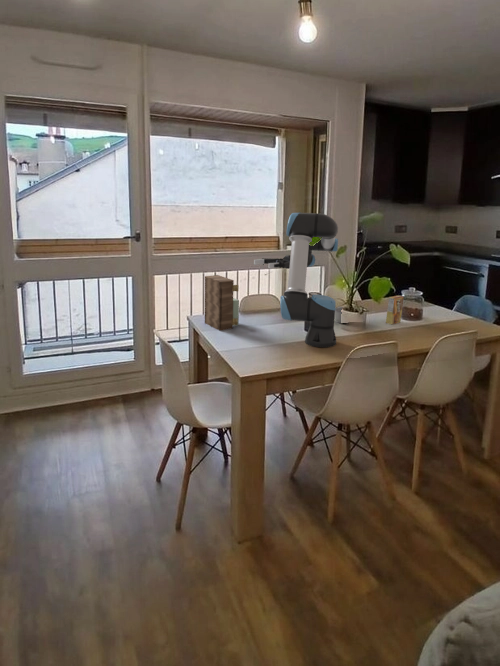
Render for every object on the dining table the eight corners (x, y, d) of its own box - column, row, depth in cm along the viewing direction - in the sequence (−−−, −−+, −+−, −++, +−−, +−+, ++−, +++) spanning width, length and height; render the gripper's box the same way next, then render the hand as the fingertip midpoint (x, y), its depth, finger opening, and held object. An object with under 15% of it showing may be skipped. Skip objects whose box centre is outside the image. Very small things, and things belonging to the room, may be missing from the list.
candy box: (394, 320, 284) (397, 295, 280) (400, 322, 281) (404, 296, 276) (385, 323, 279) (388, 297, 274) (391, 325, 276) (394, 298, 271)
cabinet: (237, 329, 259) (239, 280, 251) (221, 331, 253) (222, 282, 246) (220, 320, 273) (221, 274, 265) (204, 323, 268) (204, 276, 260)
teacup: (353, 325, 272) (355, 311, 270) (334, 324, 272) (335, 310, 270) (349, 318, 286) (350, 305, 283) (331, 318, 286) (332, 304, 283)
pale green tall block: (239, 324, 266) (240, 299, 262) (233, 326, 264) (233, 300, 260) (232, 321, 273) (232, 296, 269) (225, 322, 270) (225, 297, 266)
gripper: (305, 271, 271) (274, 274, 259) (278, 265, 290) (248, 267, 279) (306, 258, 269) (275, 260, 257) (278, 252, 288) (248, 254, 277)
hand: (261, 264), depth 268 cm, fingers open, 13 cm apart
